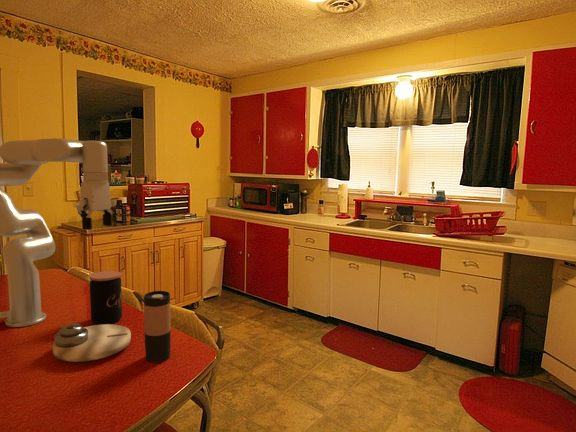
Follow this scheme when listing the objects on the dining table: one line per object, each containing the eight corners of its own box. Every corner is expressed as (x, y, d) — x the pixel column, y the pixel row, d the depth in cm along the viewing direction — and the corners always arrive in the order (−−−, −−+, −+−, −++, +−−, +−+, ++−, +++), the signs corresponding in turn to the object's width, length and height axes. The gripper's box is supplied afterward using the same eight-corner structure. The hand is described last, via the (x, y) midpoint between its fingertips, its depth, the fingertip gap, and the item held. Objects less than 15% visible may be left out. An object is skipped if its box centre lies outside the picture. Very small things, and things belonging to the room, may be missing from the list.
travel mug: (149, 351, 119) (147, 290, 117) (173, 351, 120) (172, 290, 117) (141, 363, 111) (140, 298, 109) (167, 363, 112) (166, 298, 110)
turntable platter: (45, 366, 105) (44, 359, 105) (60, 334, 125) (60, 328, 125) (130, 354, 113) (129, 348, 113) (131, 326, 134) (131, 320, 133)
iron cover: (52, 349, 111) (51, 334, 111) (58, 337, 119) (57, 323, 119) (86, 345, 114) (85, 330, 114) (89, 333, 123) (89, 319, 122)
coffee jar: (110, 327, 136) (108, 279, 134) (84, 324, 138) (82, 277, 136) (128, 316, 147) (126, 272, 145) (104, 314, 149) (102, 270, 147)
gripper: (104, 177, 136) (105, 223, 138) (66, 177, 120) (68, 230, 121) (122, 177, 135) (123, 224, 137) (86, 178, 118) (88, 231, 120)
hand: (97, 227), depth 129 cm, fingers open, 9 cm apart
